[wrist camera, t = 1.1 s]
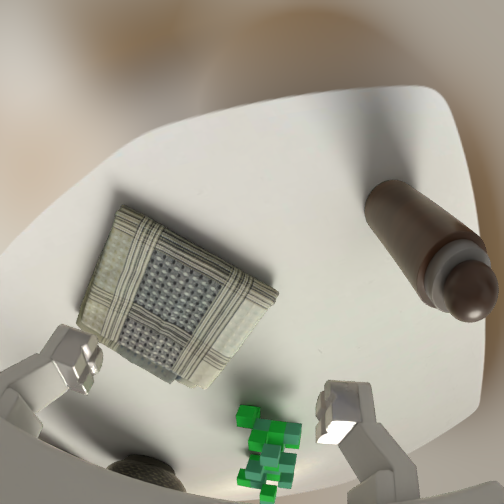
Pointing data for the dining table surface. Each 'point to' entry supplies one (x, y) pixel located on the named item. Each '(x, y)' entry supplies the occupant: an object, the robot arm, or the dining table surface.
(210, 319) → the dish towel
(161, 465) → the planter
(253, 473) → the building blocks
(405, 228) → the pepper mill
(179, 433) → the dining table surface
